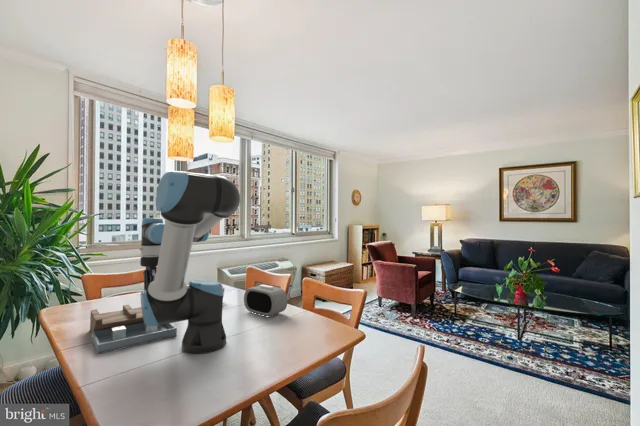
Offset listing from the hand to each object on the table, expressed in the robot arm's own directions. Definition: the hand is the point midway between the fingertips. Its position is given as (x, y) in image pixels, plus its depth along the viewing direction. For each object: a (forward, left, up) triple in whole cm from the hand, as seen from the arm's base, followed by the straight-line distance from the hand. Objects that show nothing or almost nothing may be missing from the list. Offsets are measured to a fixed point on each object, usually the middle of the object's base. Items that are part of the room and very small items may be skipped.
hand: (149, 314), depth 122 cm
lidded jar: (+23, -37, -7) cm, 44 cm away
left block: (-1, +11, -4) cm, 12 cm away
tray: (-4, +5, -7) cm, 10 cm away
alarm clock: (-9, -49, -7) cm, 50 cm away
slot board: (+8, +5, -7) cm, 12 cm away
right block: (-1, 0, -4) cm, 4 cm away
